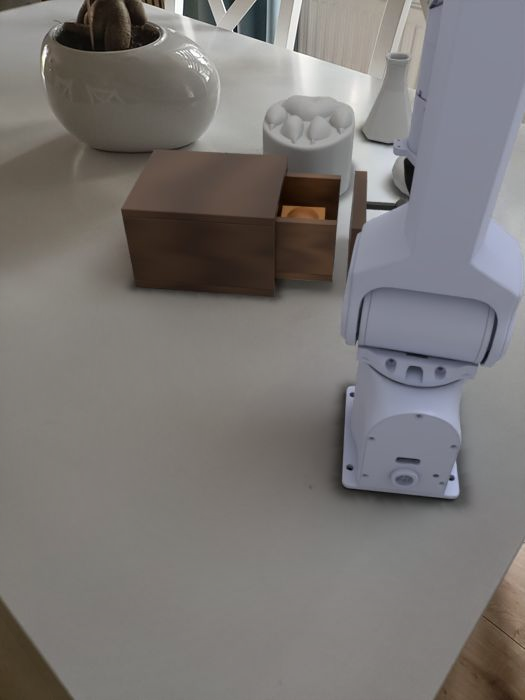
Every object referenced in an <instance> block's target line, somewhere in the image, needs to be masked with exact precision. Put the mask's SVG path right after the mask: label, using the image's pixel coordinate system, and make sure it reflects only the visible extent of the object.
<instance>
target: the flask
mask: <svg viewBox="0 0 525 700" xmlns="http://www.w3.org/2000/svg"><path fill="white" fill-rule="evenodd" d="M412 59H413V57H412V55H411V54H410V53H409V52H404V51H390V52H387V54H386V55H385V61H386V69H385V70H386V71H385V74H384V77H383V81H382V85H381V88H380V90H379V92H378V94H377V96H376V99H375V100H374V103H373V105H372V107H371V109H370V112H369V113H368V116H367V117H366V119H365V122H364V124H363V126H362V128H361V131H362V132H363V134H364V136H365V137H366V139H367V140H371V141H375V142H381V143H385V144H394V140H395V139H397V138H408V137H409V132H410V125H411V119H412V113H413V110H412V105H411V101H410V95H409V90H408V70H409V64H410V63H411V62H412Z"/></svg>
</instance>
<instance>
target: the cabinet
mask: <svg viewBox="0 0 525 700" xmlns="http://www.w3.org/2000/svg"><path fill="white" fill-rule="evenodd" d="M286 172H288V156H280V155H263V154H260V153H259V154H256V153H237V152H220V151H219V152H217V151H198V150H179V149H159V148H158V149H157V148H154V149H153V151H152V153H151V155H150V156H149V158H148V160H147V161H146V163H145V165H144V167H143V169H142V170H141V172H140V174H139V176H138V177H137V179H136V181H135V182H134V185H133V186H132V188H131V189H130V192H129V193H128V196H127V197H126V199H125V201H124V202H123V204H122V206H121V208H120V212H121V216H122V223H123V229H124V232H125V238H126V244H127V248H128V253H129V259H130V264H131V269H132V274H133V279H134V281H133V282H134V285H135V287H137V288H138V287H139V288H154V289H167V290H178V291H179V290H180V291H194V292H206V293H207V292H208V293H220V294H233V295H246V296H259V297H260V296H261V297H275V294H276V291H277V285H278V279H279V278H275V220H276V216H277V211H278V206H279V202H280V197H281V193H282V188H283V183H284V179H285V174H286Z"/></svg>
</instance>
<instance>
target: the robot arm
mask: <svg viewBox="0 0 525 700" xmlns="http://www.w3.org/2000/svg"><path fill="white" fill-rule="evenodd" d="M429 3H430V0H426V5H428V11H427V18H426V23H425V24H426V25H425V29H424V37H423V43H422V50H421V57H420V63H419V69H418V75H417V81H416V89H415V93H414V94H415V95H414V99H413V107H412V119H411V125H410V132H409V137H408V138H397V139H395V140H394V143H392V154H393V155H394V156H397V157H399V156H405V157H406V158H405V159H404V178H405V184H406V187H407V190H408V192H409V195H410V197H409V199H408V202H407V203H405V204H403V205H402V206H400V207H398V208H395V209H393V210H391V211H386V212H384V213H381V214H379V215H377V216H376V217H373V218H372V219H370V220H366V223H365V224H364V225H363V228H362V231H361V232H360V233H358V234H357V237H356V241H355V245H354V249H353V254H352V259H351V264H350V268H349V273H348V278H347V283H346V282H345V288H344V289H345V290H344V295H343V297H344V298H343V303H342V310H341V317H340V318H341V319H340V336H341V337H342V338H343V339H344V341H345V343H346V345H348V346H351V347H356V345H357V350H356V351H357V352H356V358H355V359H356V361H357V362H358V363H357V371H356V379H355V385H349V386H348V387H347V388H346V391H345V409H344V410H345V411H344V429H343V430H344V431H343V432H344V433H343V450H342V452H343V453H342V470H341V471H342V473H341V484H342V485H343V486H344V487H345V488H347V489H354V490H363V491H371V492H372V491H373V492H383V493H391V494H400V495H410V496H421V497H427V498H428V497H429V498H440V499H448V500H455V499H457V498H458V497H459V495H460V483H459V474H458V465H457V457H458V454H459V451H460V449H461V445H462V428H461V419H460V406H461V405H460V403H461V399H462V395H463V393H464V390H465V387H466V384H467V380H474V379H475V378H476V375H477V372H478V368H479V365H480V367H485V368H492V367H493V366H495V365H496V363H498V362H499V361H501V360H502V359H503V358H504V357H505V355H506V353H507V351H508V349H509V346H510V343H511V341H512V337H513V334H514V329H515V324H516V321H517V314H518V308H519V306H520V303H521V302H522V301H521V300H522V298H523V293H524V283H525V261H524V255H523V254H522V248H521V244H520V241H519V240H518V239H517V238H516V237H515V236H513V234H511V232H509V230H507V229H506V228H505V227H503V225H501V224H500V223H499V222H498V221H496V220H495V219H494V218H493V217H492V216H493V213H494V210H495V208H496V204H497V201H498V197H499V194H500V192H501V188H502V185H503V182H504V178H505V175H506V172H507V170H508V169H507V168H508V166H509V163H510V159H511V157H512V153H513V150H514V147H515V144H516V141H517V137H518V134H519V131H520V127H521V124H522V122H523V118H524V115H525V0H432V1H431V3H430V4H429ZM349 468H350V469H351V470H349ZM450 479H451V480H450Z"/></svg>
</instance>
